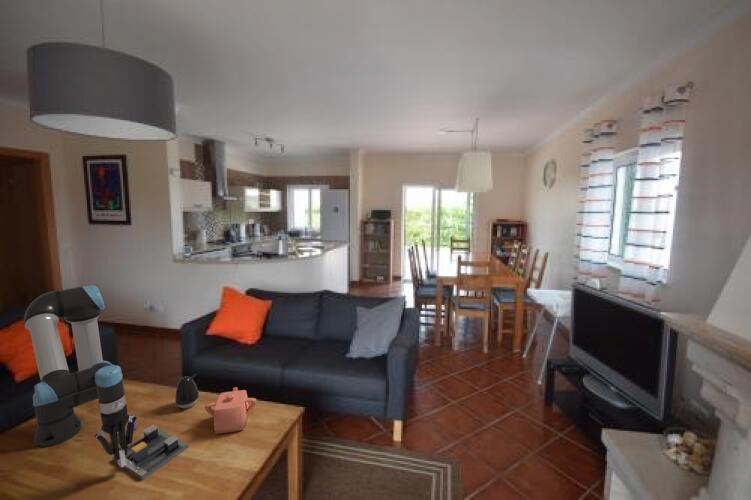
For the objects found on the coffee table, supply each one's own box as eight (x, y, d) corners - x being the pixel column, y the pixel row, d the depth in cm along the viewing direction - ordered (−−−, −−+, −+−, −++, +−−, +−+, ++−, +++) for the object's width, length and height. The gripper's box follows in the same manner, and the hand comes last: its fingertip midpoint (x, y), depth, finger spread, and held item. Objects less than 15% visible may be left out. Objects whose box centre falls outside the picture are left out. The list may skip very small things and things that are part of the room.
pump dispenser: (204, 402, 169) (201, 375, 166) (183, 414, 160) (180, 385, 158) (192, 396, 174) (190, 369, 172) (172, 407, 166) (168, 378, 163)
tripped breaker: (133, 459, 131) (131, 448, 130) (143, 452, 135) (142, 441, 134) (137, 461, 130) (135, 451, 129) (148, 454, 133) (146, 444, 132)
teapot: (255, 430, 150) (253, 401, 147) (202, 437, 145) (199, 408, 143) (260, 403, 169) (259, 377, 166) (213, 409, 164) (211, 383, 162)
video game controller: (117, 449, 141) (122, 437, 139) (109, 443, 141) (113, 431, 139) (138, 433, 150) (142, 421, 149) (130, 427, 151) (134, 416, 149)
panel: (113, 460, 133) (111, 446, 132) (159, 432, 148) (158, 419, 147) (142, 480, 124) (140, 465, 123) (188, 447, 139) (187, 434, 138)
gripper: (97, 422, 115) (107, 481, 119) (138, 401, 126) (146, 456, 130) (86, 415, 118) (96, 473, 122) (127, 395, 130) (135, 449, 134)
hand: (122, 464), depth 126 cm, fingers closed
